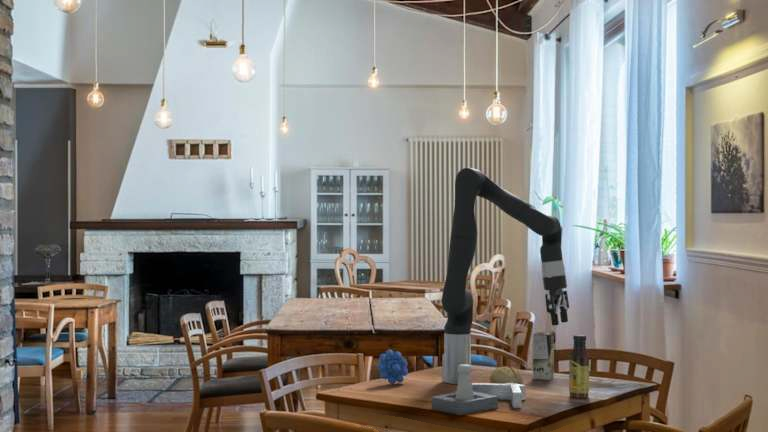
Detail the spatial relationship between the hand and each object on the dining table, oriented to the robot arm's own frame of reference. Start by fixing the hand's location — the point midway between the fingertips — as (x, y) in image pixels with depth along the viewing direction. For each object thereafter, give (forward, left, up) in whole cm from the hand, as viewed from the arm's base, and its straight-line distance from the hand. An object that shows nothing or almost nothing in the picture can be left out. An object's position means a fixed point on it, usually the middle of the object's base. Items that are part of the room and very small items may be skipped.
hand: (560, 323), depth 275 cm
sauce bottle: (+9, -2, -23) cm, 25 cm away
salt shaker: (-2, -43, -23) cm, 49 cm away
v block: (-2, -25, -22) cm, 34 cm away
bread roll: (-13, -12, -23) cm, 29 cm away
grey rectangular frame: (-2, -43, -22) cm, 49 cm away
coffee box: (-21, +17, -23) cm, 35 cm away
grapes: (-45, -34, -23) cm, 61 cm away
